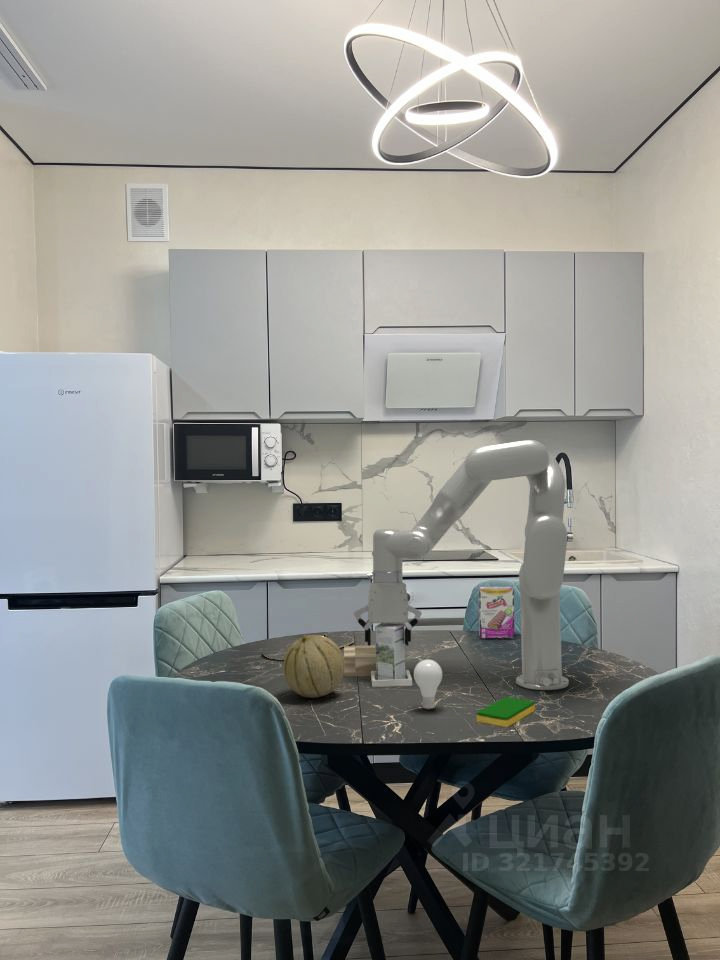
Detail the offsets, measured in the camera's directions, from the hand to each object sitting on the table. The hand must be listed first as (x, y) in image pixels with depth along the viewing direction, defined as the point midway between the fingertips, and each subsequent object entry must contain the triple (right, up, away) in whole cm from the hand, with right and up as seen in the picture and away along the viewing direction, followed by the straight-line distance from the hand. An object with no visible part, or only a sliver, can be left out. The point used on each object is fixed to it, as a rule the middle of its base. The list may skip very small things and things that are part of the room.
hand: (387, 644), depth 190 cm
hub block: (-4, -10, +13) cm, 16 cm away
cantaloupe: (-18, -10, -12) cm, 24 cm away
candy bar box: (+37, -9, +49) cm, 62 cm away
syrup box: (+1, -10, 0) cm, 10 cm away
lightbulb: (+8, -9, -25) cm, 28 cm away
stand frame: (+1, -9, 0) cm, 9 cm away
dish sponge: (+24, -9, -31) cm, 40 cm away
